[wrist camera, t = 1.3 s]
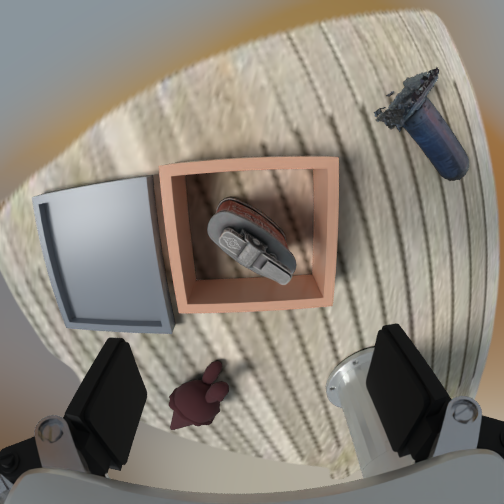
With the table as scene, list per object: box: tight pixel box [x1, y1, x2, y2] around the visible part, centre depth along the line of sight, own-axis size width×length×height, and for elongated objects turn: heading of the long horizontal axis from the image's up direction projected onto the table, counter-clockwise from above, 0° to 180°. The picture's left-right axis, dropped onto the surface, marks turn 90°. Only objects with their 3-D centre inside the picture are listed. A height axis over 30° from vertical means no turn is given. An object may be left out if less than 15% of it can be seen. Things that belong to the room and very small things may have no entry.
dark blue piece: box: [374, 67, 469, 181], centre depth 24 cm, size 9×8×12 cm
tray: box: [32, 175, 175, 334], centre depth 30 cm, size 16×18×2 cm
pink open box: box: [159, 156, 339, 313], centre depth 27 cm, size 15×14×6 cm
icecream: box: [169, 361, 229, 430], centre depth 35 cm, size 7×7×15 cm
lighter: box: [207, 197, 296, 285], centre depth 25 cm, size 8×3×10 cm, turn 55°
